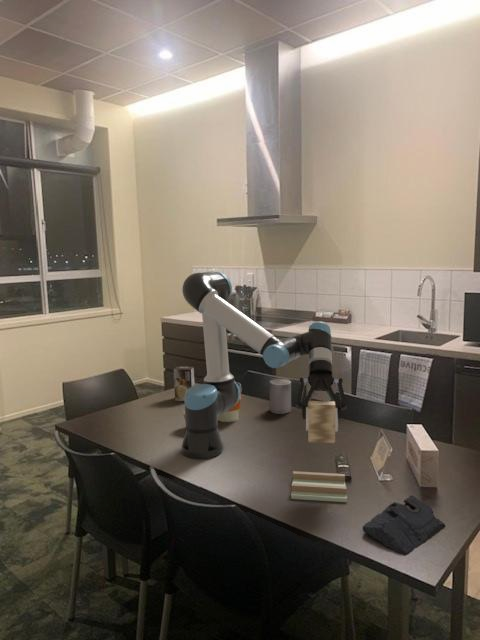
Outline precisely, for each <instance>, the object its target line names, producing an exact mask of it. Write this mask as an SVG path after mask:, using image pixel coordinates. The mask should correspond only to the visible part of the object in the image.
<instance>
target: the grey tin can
mask: <svg viewBox="0 0 480 640" xmlns="http://www.w3.org/2000/svg"><path fill="white" fill-rule="evenodd" d="M291 411H292V382H291V380H290V379H288V378H287V379H286V378H274V379H272V380H269V412H271V413H272V414H275V415H286V414H288V413H291Z"/></svg>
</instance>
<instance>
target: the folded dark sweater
mask: <svg viewBox="0 0 480 640" xmlns="http://www.w3.org/2000/svg"><path fill="white" fill-rule="evenodd" d="M403 503H404V504H402V503H400V502H396V501H394V502H392V503H390V504H389V505H388V506H387V507H385V509H383V510H382V512H381V513H378V514H376V515H375V516H374V517H373V518H372V519H371V520H370V521H368V522H365V523H364V524H363V525H362V531H363V532H364V533H365V534H367V535H369V536H370V537H372V538H373V539H375V540H377V541H378V542H380V543H382V544H383V545H384V546H386V547H387V548H389V549H391V550H392V551H394V552H396V553H399V554H403V555H404V556H407V555H409V554H411V553H413V551H414V550H415V549H417V548H419V547H420V546H422V545H423V544H425V543H426V542H427V541H429V540H430V539H432V537H433V538H434V536H435V535H437V534H438V533H439V532H440V531H442V530H444V528H446V524H445V523H444V522H443V521H442V520H440V518H437V517H436V516H435V515H434V511H433V508H432V507H431V506H430V505H429V504H427V503H425V502H423V501H421V500H419V499H418V498H417V497H416V496H414V495H409V497H406V498H404V500H403Z"/></svg>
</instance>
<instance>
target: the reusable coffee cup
mask: <svg viewBox="0 0 480 640" xmlns="http://www.w3.org/2000/svg"><path fill="white" fill-rule="evenodd" d="M235 382H236V381H235ZM236 384H238V386H239V389H240V398H239V401H238V402H237V404H236V405H235V406H234V407H233V408H232V409H230V410H228V411H226V412H224V413H223V414H221V415H219V416H218V422H222V423H231V422H236V421H238V420H239V414H240V413H239V412H240V408H241V402H242V396H241V395H242V392H243V390H242V389H243V388H242V384H241V383H240V382H238V381H237V382H236Z"/></svg>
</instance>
